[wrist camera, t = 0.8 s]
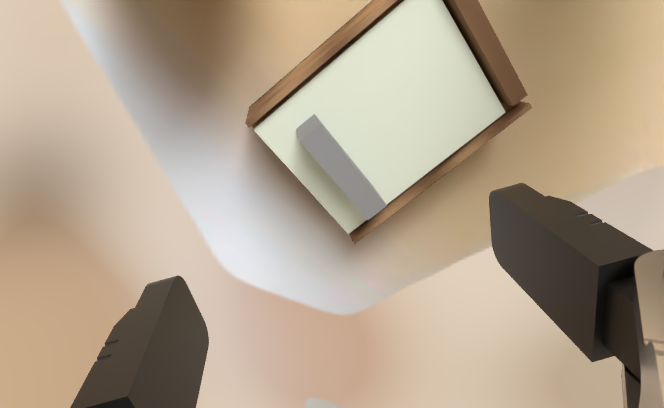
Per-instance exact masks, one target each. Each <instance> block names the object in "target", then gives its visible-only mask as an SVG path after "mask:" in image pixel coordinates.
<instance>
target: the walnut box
mask: <svg viewBox="0 0 664 408" xmlns="http://www.w3.org/2000/svg"><path fill="white" fill-rule="evenodd" d="M401 1H402V0H372V1H371V2H370V3H369V4H368V5H367V6H365V7H364V8H363V9H362V10H361V11H360V12H359V13H357V14H356V15H355V16H354V17H353V18H352V19H351V20H349V21H348V22H347V23H346V24H345V25H344V26H342V27H341V28H340V29H339V30H338V31H337V32H336V33H334V34H333V35H332V36H331V37H330V38H329V39H327V40H326V41H325V42H324V43H323V44H322V45H321V46H319V47H318V48H317V49H316V50H315V51H314V52H312V53H311V54H310V55H309V56H308V57H307V58H306V59H304V60H303V61H302V62H301V63H300V64H299V65H297V66H296V67H295V68H294V69H293V70H292V71H291V72H289V73H288V74H287V75H286V76H285V77H284V78H283V79H281V80H280V81H279V82H278V83H277V84H276V85H274V86H273V87H272V88H271V89H270V90H269V91H268V92H266V93H265V94H264V95H263V96H262V97H261V98H259V99H258V100H257V101H256V102H255V103H254V104H253V105H251V106H250V107H249V111H248V115H247V119H246V124H247V126H248V127H250V126H251V125H252V126H253V128H254V127H255V126H256V125H257V124H258V123H260V122H261V121H262V120H263V119H264V118H265V117H267V116H268V115H269V114H270V113H271V112H272V111H274V110H275V109H276V108H277V107H278V106H279V105H281V104H282V103H283V102H284V101H285V100H286V99H288V98H289V97H290V96H291V95H292V94H293V93H295V92H296V91H297V90H298V89H299V88H300V87H302V86H303V85H304V84H305V83H306V82H307V81H309V80H310V79H311V78H312V77H313V76H314V75H316V74H317V73H318V72H319V71H320V70H321V69H323V68H324V67H325V66H326V65H327V64H328V63H330V62H331V61H332V60H333V59H334V58H335V57H337V56H338V55H339V54H340V53H341V52H342V51H344V50H345V49H346V48H347V47H348V46H349V45H351V44H352V43H353V42H354V41H355V40H356V39H358V38H359V37H360V36H361V35H362V34H364V33H365V32H366V31H367V30H368V29H369V28H371V27H372V26H373V25H374V24H375V23H376V22H378V21H379V20H380V19H381V18H382V17H383V16H385V15H386V14H387V13H388V12H389V11H390V10H392V9H393V8H394V7H395V6H396V5H397V4H399V3H400V2H401ZM442 1H443V2H444V4H445V6H446V8H447V10H448V11H449V13H450V15H451V17H452V18H453V20H454V22H455V24H456V25H457V27H458V29H459V31H460V32H461V34H462V36H463V38H464V40H465V41H466V43H467V45H468V47H469V48H470V50H471V52H472V54H473V55H474V57H475V59H476V61H477V62H478V64H479V66H480V68H481V70H482V71H483V73H484V75H485V77H486V78H487V80H488V82H489V84H490V85H491V87H492V89H493V91H494V92H495V94H496V96H497V98H498V99H499V101H500V103H501V105H502V107H503V108H504V110H505V112H506V113H504V114H503V115H502V116H500V117H499V118H498V119H496V120H495V121H494V122H493V123H491V124H490V125H489V126H487V127H486V128H485V129H484V130H482V131H481V132H480V133H478V134H477V135H476V136H475V137H473V138H472V139H471V140H469V141H468V142H467V143H465V144H464V145H463V146H462V147H460V148H459V149H458V150H456V151H455V152H454V153H453V154H451V155H450V156H449V157H447V158H446V159H445V160H444V161H442V162H441V163H440V164H438V165H437V166H436V167H435V168H433V169H432V170H431V171H429V172H428V173H427V174H425V175H424V176H423V177H422V178H420V179H419V180H418V181H416V182H415V183H414V184H413V185H411V186H410V187H409V188H407V189H406V190H405V191H404V192H402V193H401V194H400V195H398V196H397V197H396V198H394V199H393V200H392V201H391V202H389V203H388V204H387V206H386V207H385V208H383V209H382V210H381V211H380V212H378V213H377V214H376V215H374V216H373V217H372V218H371V219H369V220H366V221H365V222H363V223H362V224H361V225H360V226H358V227H357V228H356V229H354V230H353V231H352V232H351V233H350V236H351V238H352V241H353V242H354V243H356V242H358V241H359V240H360V239H362V238H363V237H364V236H366V235H367V234H368V233H370V232H371V231H372V230H373V229H375V228H376V227H377V226H379V225H380V224H381V223H383V222H384V221H385V220H386V219H388V218H389V217H390V216H392V215H393V214H394V213H396V212H397V211H398V210H399V209H401V208H402V207H403V206H405V205H406V204H407V203H409V202H410V201H411V200H412V199H414V198H415V197H416V196H418V195H419V194H420V193H422V192H423V191H424V190H425V189H427V188H428V187H429V186H431V185H432V184H433V183H435V182H436V181H437V180H439V179H440V178H441V177H442V176H444V175H445V174H446V173H448V172H449V171H450V170H452V169H453V168H454V167H455V166H457V165H458V164H459V163H461V162H462V161H463V160H465V159H466V158H467V157H468V156H470V155H471V154H472V153H474V152H475V151H476V150H478V149H479V148H480V147H481V146H483V145H484V144H485V143H487V142H488V141H489V140H491V139H492V138H493V137H494V136H496V135H497V134H498V133H500V132H501V131H502V130H504V129H505V128H506V127H508V126H509V125H510V124H511V123H513V122H514V121H515V120H517V119H518V118H519V117H521V116H522V115H523V114H524V113H526V112H527V111H528V110H530V109H531V108H532V107H531V105H530V104H529V103H525V102H521V101H520V100H521V99H523V98H524V97H525V96H527V93H526V91H525V89H524V87H523V85H522V83H521V82H520V80H519V78H518V76H517V74H516V72H515V70H514V68H513V66H512V65H511V63H510V61H509V59H508V57H507V55H506V53H505V51H504V49H503V47H502V46H501V44H500V42H499V40H498V38H497V36H496V34H495V32H494V30H493V29H492V27H491V25H490V23H489V21H488V19H487V17H486V15H485V13H484V11H483V10H482V8H481V6H480V4H479V2H478V0H442Z"/></svg>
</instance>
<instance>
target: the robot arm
mask: <svg viewBox="0 0 664 408" xmlns="http://www.w3.org/2000/svg"><path fill="white" fill-rule="evenodd" d="M489 207H490V222H491V237H492V247H493V251H494V254H495V256H496V258H497V260H498V262H499V264H500V265H501V266H502V268H503V269H504V270H505V271H506V272H507V273H508V274H509V275H510V276H511V277H512V278H513V279H514V280H515V281H516V282H517V283H518V284H519V286H521V288H522V289H523V290H524V291H525V292H526V293H527V294H528V295H529V296H530V297H531V298H532V299H533V300H534V301H535V302H536V303H537V305H539V307H540V308H541V309H542V310H543V311H544V312H545V313H546V314H547V315H548V316H549V317H550V318H551V319H552V320H553V321H554V323H555V324H556V325H557V326H558V327H559V328H560V329H561V330H562V331H563V332H564V333H565V334H566V335H567V336H568V337H569V338H570V339H571V340H572V341H573V343H575V345H576V346H577V347H579V349H580V350H581V351H582V352H583V353H584V354H585V355H586V356H587V357H588V358H589V359H590V361H591V362H594V361H598V360H602V359H605V358H609V357H612V356H616V357H617V358H618V359H619V360H620V361H621V362H622V363H623V365H622V374H621V378H622V390H623V405H624V408H664V250H657V251H653V250H652V249H650V248H648V247H646V246H645V245H643V244H641V243H640V242H638V241H636V240H635V239H633V238H631V237H629V236H627V235H626V234H624V233H623V232H621V231H619V230H618V229H616V228H614V227H612V226H611V225H609V224H607V223H606V222H605V223H602V220H601V219H599V218H597V217H595V216H594V215H592V214H588V212H587V211H585V210H584V209H582V208H580V207H579V206H577V205H575V204H574V203H572V202H569V201H566V200H562V199H559V198H555V197H551V196H546V197H545V196H543V195H542V194H540V193H539V192H537V191H535V190H534V189H532V188H531V187H529V186H527V185H526V184H524V183H519V184H516V185H512V186H508V187H505V188H501V189H497V190H494V191H492V192H491V193H490V196H489ZM208 344H209V339H208V331H207V327H206V324H205V321H204V319H203V317H202V315H201V313H200V311H199V309H198V307H197V305H196V303H195V301H194V298H193V297H192V294H191V292H190V290H189V288H188V286H187V284H186V282H185V281H184V279H183V278H182V277H181V276H176V277H171V278H168V279H164V280H160V281H157V282H153V283H150V284H148V285H147V286H146V287H145V289H144V291H143V293H142V295H141V297H140V299H139V301H138V303H137V305H136V307H135V308H133V309H130V310H129V311H128V312H127V313H126V315H124V317H123V318H122V319H121V320H120V321H119V322H118V323H117V324H116V325H115V326H114V327H113V329H112V331H111V333H110V335H109V337H108V339H107V340H106V342H105V347H103V348H102V350H101V352H100V353H99V355H98V357H97V362H95V363H94V365H93V367H92V368H91V370H90V372H89V374H88V376H87V378H86V380H85V381H84V383H83V385H82V387H81V389H80V391H79V393H78V394H77V396H76V398H75V400H74V402H73V404H72V406H71V408H196V404H197V399H198V394H199V389H200V385H201V380H202V375H203V370H204V365H205V361H206V355H207V350H208Z"/></svg>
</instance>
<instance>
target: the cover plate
mask: <svg viewBox="0 0 664 408" xmlns="http://www.w3.org/2000/svg"><path fill="white" fill-rule="evenodd" d="M504 113H506V112H505V110H504V108H503V107H502V105H501V103H500V101H499V99H498V98H497V96H496V94H495V92H494V91H493V89H492V87H491V85H490V84H489V82H488V80H487V78H486V77H485V75H484V73H483V71H482V70H481V68H480V66H479V64H478V62H477V61H476V59H475V57H474V55H473V54H472V52H471V50H470V48H469V47H468V45H467V43H466V41H465V40H464V38H463V36H462V34H461V32H460V31H459V29H458V27H457V25H456V24H455V22H454V20H453V18H452V17H451V15H450V13H449V11H448V10H447V8H446V6H445V4H444V2H443V1H442V0H402V1H401V2H400V3H399V4H397V5H396V6H395V7H394V8H393V9H392V10H390V11H389V12H388V13H387V14H386V15H385V16H383V17H382V18H381V19H380V20H379V21H378V22H376V23H375V24H374V25H373V26H372V27H371V28H369V29H368V30H367V31H366V32H365V33H364V34H362V35H361V36H360V37H359V38H358V39H356V40H355V41H354V42H353V43H352V44H351V45H349V46H348V47H347V48H346V49H345V50H344V51H342V52H341V53H340V54H339V55H338V56H337V57H335V58H334V59H333V60H332V61H331V62H330V63H328V64H327V65H326V66H325V67H324V68H323V69H321V70H320V71H319V72H318V73H317V74H316V75H314V76H313V77H312V78H311V79H310V80H309V81H307V82H306V83H305V84H304V85H303V86H302V87H300V88H299V89H298V90H297V91H296V92H295V93H293V94H292V95H291V96H290V97H289V98H288V99H286V100H285V101H284V102H283V103H282V104H281V105H279V106H278V107H277V108H276V109H275V110H274V111H272V112H271V113H270V114H269V115H268V116H267V117H265V118H264V119H263V120H262V121H261V122H260V123H258V124H257V125H256V126H255V127H254V128H253V130H254V131H255V132H256V133H257V134H258V135H259V137H260V138H261V139H262V140H263V141H264V142H265V143H266V144H267V145H268V146H269V148H270V149H271V150H272V151H273V152H274V153H275V154H276V155H277V156H278V157H279V159H280V160H281V161H282V162H283V163H284V164H285V165H286V166H287V167H288V168H289V170H290V171H291V172H292V173H293V174H294V175H295V176H296V177H297V178H298V179H299V181H300V182H301V183H302V184H303V185H304V186H305V187H306V188H307V189H308V190H309V192H310V193H311V194H312V195H313V196H314V197H315V198H316V199H317V200H318V201H319V203H320V204H321V205H322V206H323V207H324V208H325V209H326V210H327V211H328V212H329V213H330V215H331V216H332V217H333V218H334V219H335V220H336V221H337V222H338V223H339V224H340V226H341V227H342V228H343V229H344V230H345V231H346V232H347V233H348V234H349V233H351V232H352V231H353V230H354V229H356V228H357V227H358V226H360V225H361V224H362V223H363V222H365V221H366V220H369V219H371V218H372V217H373V216H374V215H376V214H377V213H378V212H380V211H381V210H382V209H383V208H385V207H386V206H387V204H388V203H389V202H391V201H392V200H393V199H394V198H396V197H397V196H398V195H400V194H401V193H402V192H404V191H405V190H406V189H407V188H409V187H410V186H411V185H413V184H414V183H415V182H416V181H418V180H419V179H420V178H422V177H423V176H424V175H425V174H427V173H428V172H429V171H431V170H432V169H433V168H435V167H436V166H437V165H438V164H440V163H441V162H442V161H444V160H445V159H446V158H447V157H449V156H450V155H451V154H453V153H454V152H455V151H456V150H458V149H459V148H460V147H462V146H463V145H464V144H465V143H467V142H468V141H469V140H471V139H472V138H473V137H475V136H476V135H477V134H478V133H480V132H481V131H482V130H484V129H485V128H486V127H487V126H489V125H490V124H491V123H493V122H494V121H495V120H496V119H498V118H499V117H500V116H502V115H503V114H504Z"/></svg>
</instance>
